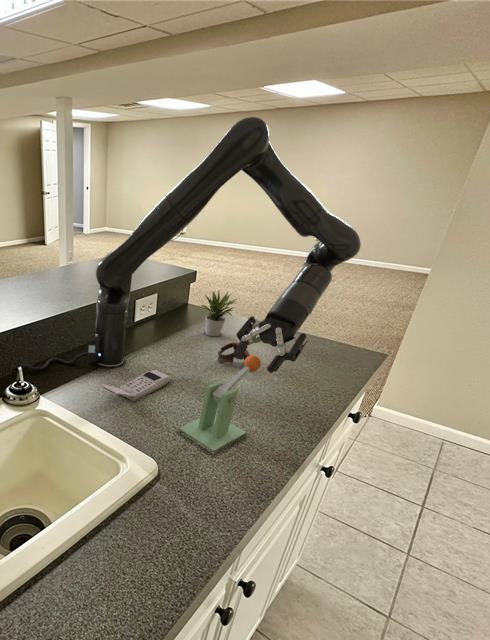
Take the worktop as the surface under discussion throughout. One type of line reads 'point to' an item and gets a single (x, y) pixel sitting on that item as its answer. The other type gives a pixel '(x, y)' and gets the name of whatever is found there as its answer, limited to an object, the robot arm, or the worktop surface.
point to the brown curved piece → (231, 356)
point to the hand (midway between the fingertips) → (252, 364)
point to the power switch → (215, 420)
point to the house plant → (216, 314)
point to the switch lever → (238, 376)
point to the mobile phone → (141, 385)
